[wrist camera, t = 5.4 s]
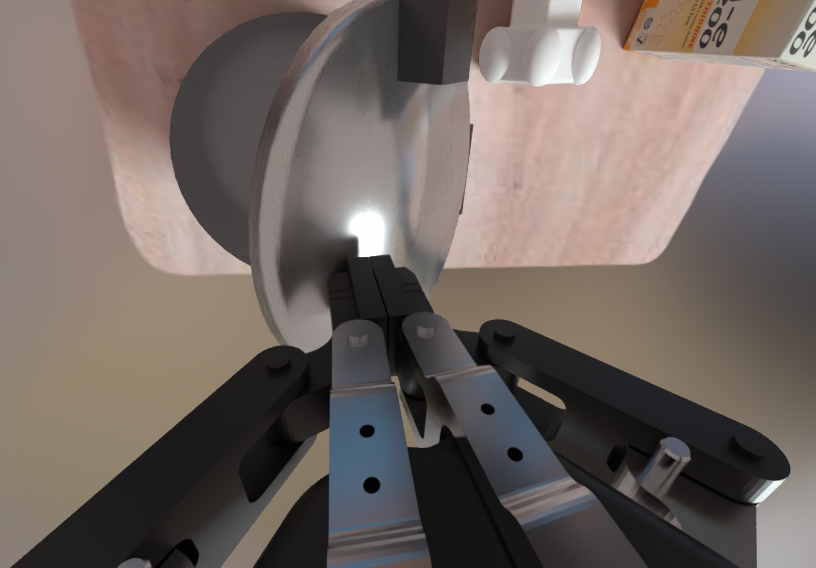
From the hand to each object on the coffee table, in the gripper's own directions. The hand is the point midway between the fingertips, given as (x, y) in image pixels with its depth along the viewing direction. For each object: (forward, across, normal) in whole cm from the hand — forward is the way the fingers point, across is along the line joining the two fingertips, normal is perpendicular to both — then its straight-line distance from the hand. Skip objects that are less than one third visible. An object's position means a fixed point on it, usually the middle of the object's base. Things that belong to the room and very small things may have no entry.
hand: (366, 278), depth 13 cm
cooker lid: (+4, -2, -4) cm, 6 cm away
